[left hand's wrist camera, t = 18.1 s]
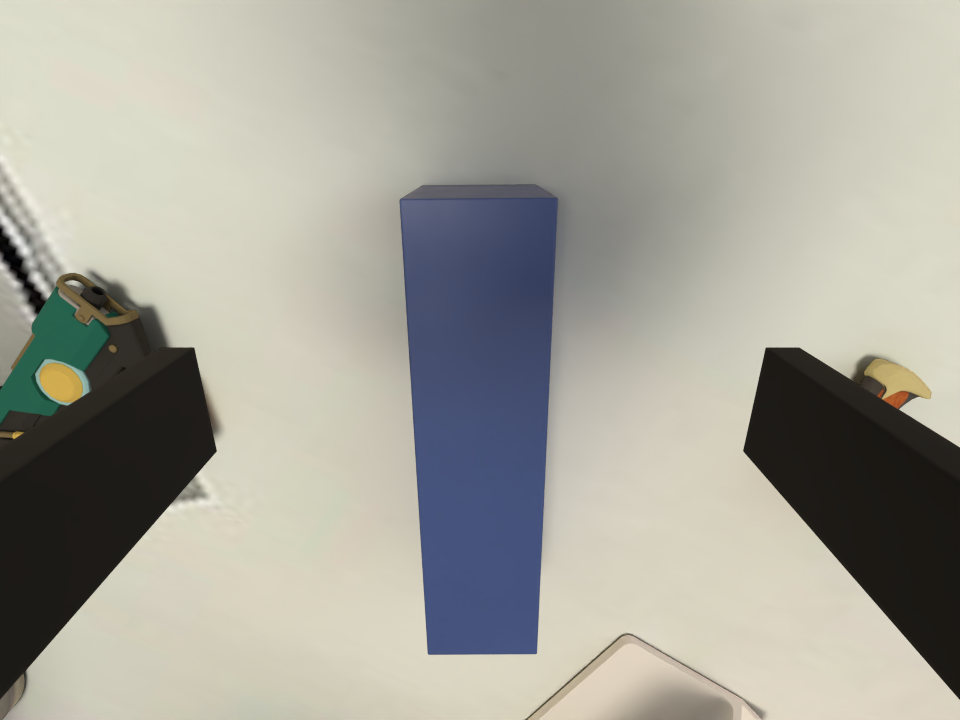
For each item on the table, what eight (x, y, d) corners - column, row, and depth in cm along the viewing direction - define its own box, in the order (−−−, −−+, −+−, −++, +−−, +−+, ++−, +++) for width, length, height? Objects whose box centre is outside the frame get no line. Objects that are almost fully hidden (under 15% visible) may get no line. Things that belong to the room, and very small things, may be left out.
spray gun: (99, 517, 42) (-48, 365, 38) (257, 433, 38) (112, 252, 34) (56, 554, 38) (-114, 390, 34) (226, 466, 34) (58, 266, 30)
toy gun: (905, 356, 34) (793, 470, 35) (1041, 496, 39) (938, 588, 41) (870, 344, 36) (767, 450, 38) (1003, 477, 42) (907, 564, 44)
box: (421, 185, 32) (399, 198, 23) (536, 184, 32) (558, 197, 23) (438, 550, 43) (427, 655, 34) (525, 550, 43) (536, 654, 34)
